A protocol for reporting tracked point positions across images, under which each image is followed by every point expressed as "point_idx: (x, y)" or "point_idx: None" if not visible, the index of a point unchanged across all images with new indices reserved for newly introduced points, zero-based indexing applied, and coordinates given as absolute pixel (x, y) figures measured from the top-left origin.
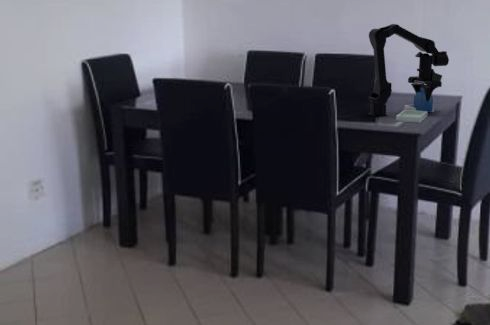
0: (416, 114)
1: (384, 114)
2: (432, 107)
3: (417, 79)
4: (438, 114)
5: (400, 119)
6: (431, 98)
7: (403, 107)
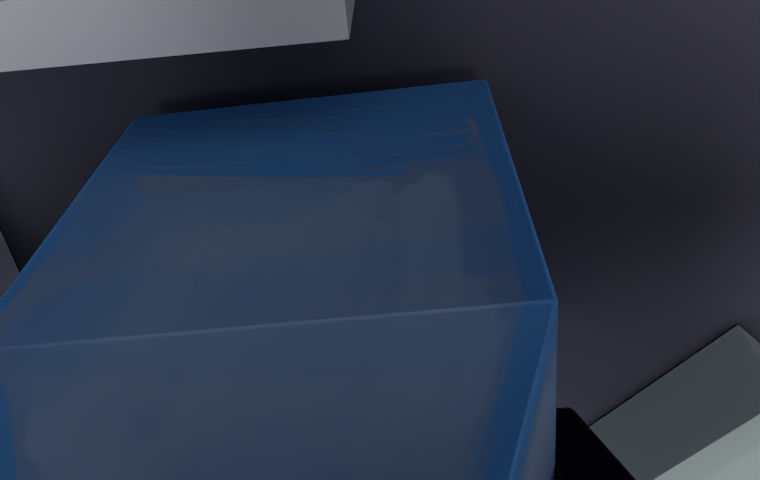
0: None
1: None
2: (500, 122)
3: None
4: (718, 11)
5: None
6: (553, 359)
7: None
